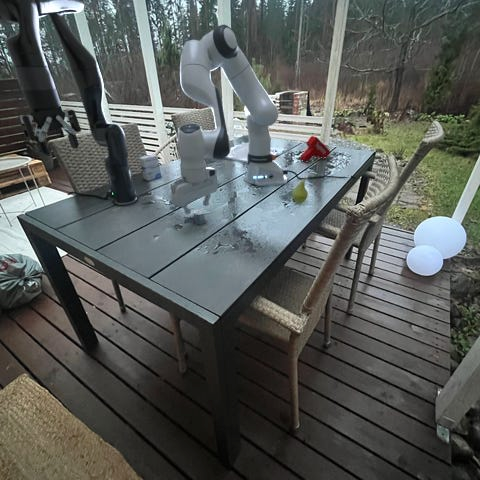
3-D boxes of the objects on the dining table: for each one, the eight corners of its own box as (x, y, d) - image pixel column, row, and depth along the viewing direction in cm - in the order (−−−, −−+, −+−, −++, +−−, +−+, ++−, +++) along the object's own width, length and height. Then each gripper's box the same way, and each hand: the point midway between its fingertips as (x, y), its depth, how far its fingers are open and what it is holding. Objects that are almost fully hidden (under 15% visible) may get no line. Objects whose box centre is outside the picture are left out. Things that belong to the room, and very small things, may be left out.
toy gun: (301, 158, 166) (316, 136, 163) (297, 156, 169) (311, 135, 166) (317, 172, 178) (330, 152, 175) (312, 170, 181) (326, 150, 178)
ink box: (157, 175, 153) (153, 153, 146) (161, 177, 150) (158, 155, 143) (143, 178, 148) (138, 157, 141) (147, 181, 145) (143, 158, 138)
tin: (193, 224, 105) (192, 214, 103) (195, 219, 108) (194, 209, 106) (204, 224, 105) (203, 214, 103) (205, 219, 108) (204, 210, 106)
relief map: (256, 164, 167) (256, 156, 164) (213, 155, 185) (213, 147, 182) (278, 154, 185) (279, 147, 183) (238, 147, 203) (237, 140, 200)
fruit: (288, 200, 123) (290, 174, 116) (302, 197, 125) (305, 172, 119) (296, 206, 118) (299, 179, 111) (310, 203, 120) (314, 177, 114)
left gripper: (16, 89, 63) (44, 159, 72) (73, 86, 73) (91, 147, 82) (-1, 89, 66) (28, 156, 75) (57, 85, 76) (76, 144, 85)
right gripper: (176, 184, 88) (181, 221, 95) (219, 168, 101) (221, 202, 108) (164, 179, 91) (170, 216, 99) (207, 165, 104) (209, 198, 112)
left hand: (61, 151), depth 78 cm, fingers open, 8 cm apart
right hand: (197, 209), depth 104 cm, fingers open, 8 cm apart
